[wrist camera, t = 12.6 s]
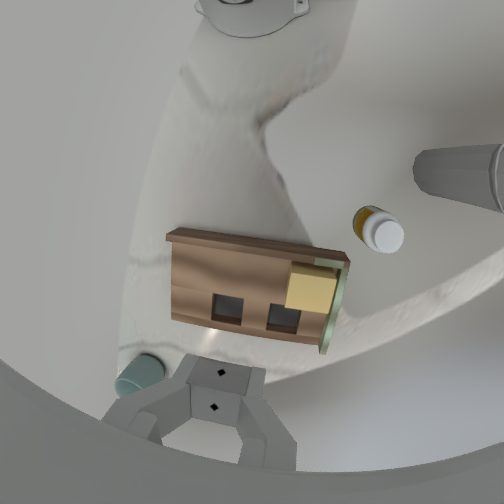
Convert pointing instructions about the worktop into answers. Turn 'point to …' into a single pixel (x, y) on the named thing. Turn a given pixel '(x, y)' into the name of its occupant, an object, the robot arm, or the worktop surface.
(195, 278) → the box
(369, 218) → the supplement bottle
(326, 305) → the block
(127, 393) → the cup
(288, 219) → the worktop surface
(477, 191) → the water bottle
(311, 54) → the worktop surface
